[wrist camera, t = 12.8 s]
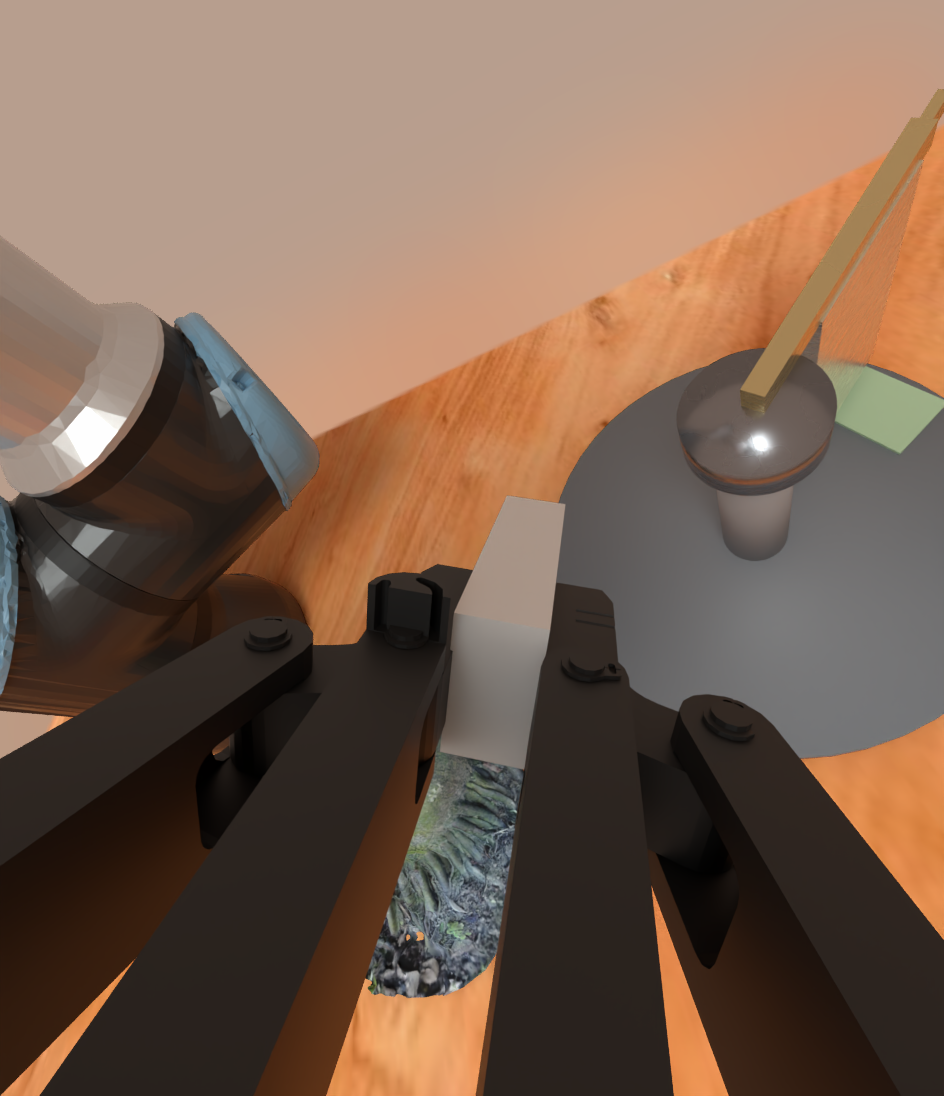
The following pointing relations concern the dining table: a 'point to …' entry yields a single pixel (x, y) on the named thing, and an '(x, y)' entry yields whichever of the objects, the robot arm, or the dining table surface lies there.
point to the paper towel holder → (776, 569)
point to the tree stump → (450, 881)
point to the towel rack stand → (807, 345)
